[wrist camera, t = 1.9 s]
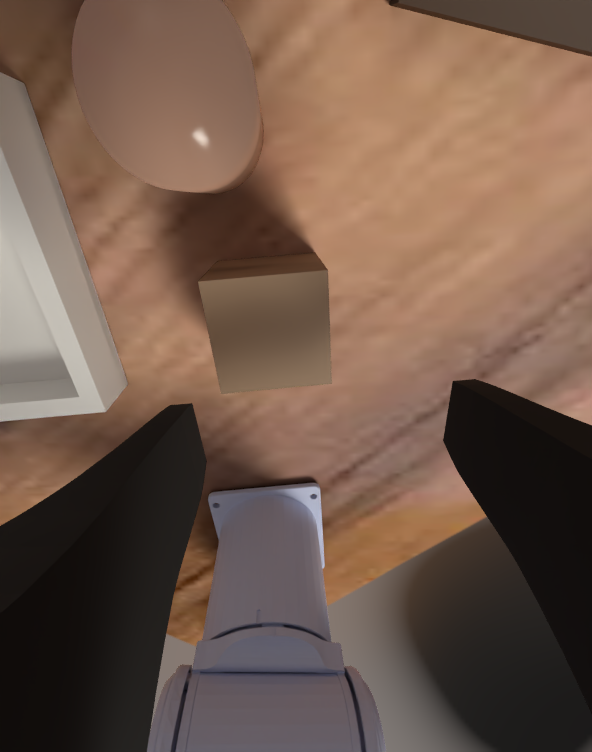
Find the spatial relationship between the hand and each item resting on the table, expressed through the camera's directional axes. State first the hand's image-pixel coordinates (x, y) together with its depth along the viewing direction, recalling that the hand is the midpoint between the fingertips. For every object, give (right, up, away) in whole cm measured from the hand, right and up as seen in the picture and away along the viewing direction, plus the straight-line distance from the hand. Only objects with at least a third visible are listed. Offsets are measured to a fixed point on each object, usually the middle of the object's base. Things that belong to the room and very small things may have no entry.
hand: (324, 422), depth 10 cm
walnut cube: (-2, +5, +9) cm, 11 cm away
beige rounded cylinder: (-5, +12, +5) cm, 14 cm away
